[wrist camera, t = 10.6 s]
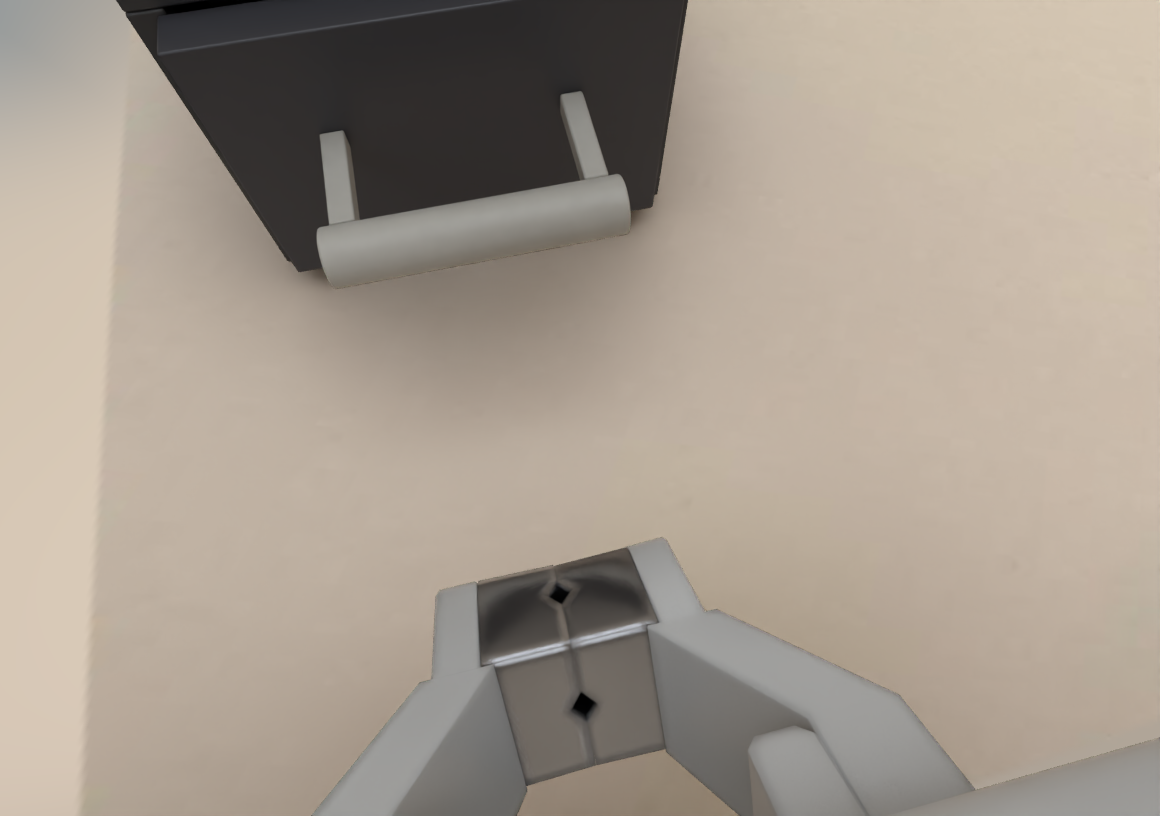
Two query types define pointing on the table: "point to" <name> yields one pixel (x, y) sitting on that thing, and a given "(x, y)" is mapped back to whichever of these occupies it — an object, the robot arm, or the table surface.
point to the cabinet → (148, 3)
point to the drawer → (431, 122)
